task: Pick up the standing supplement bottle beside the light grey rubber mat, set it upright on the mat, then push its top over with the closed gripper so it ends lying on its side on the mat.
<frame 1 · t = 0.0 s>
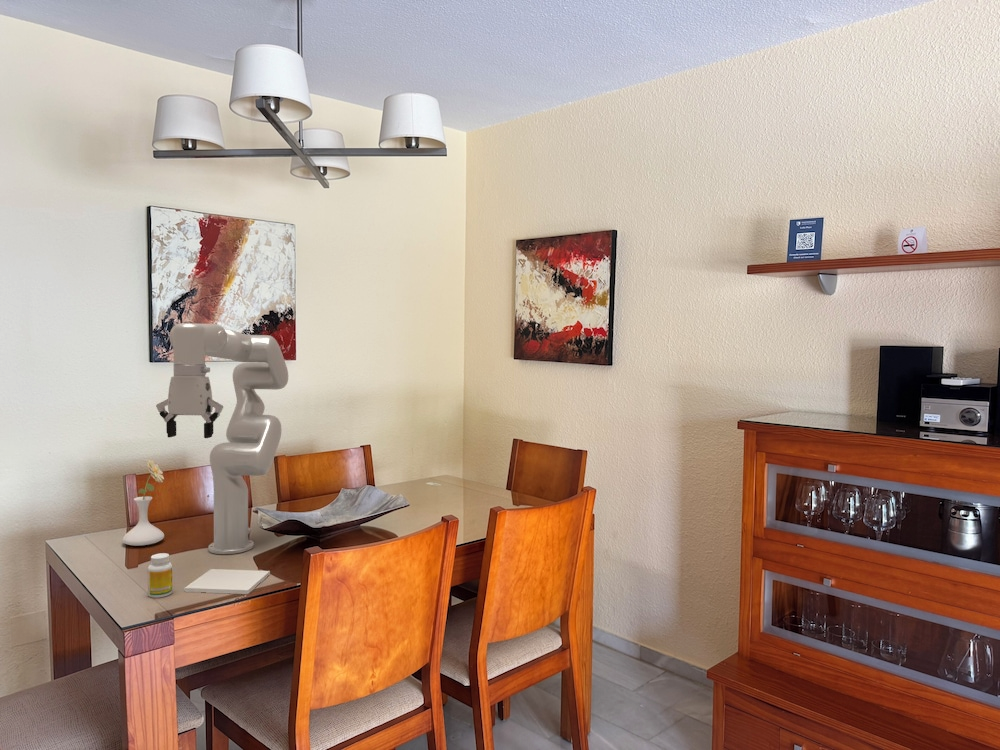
hand: (190, 437, 179), 37 cm above the table, tool pointing down, fingers open, 9 cm apart
flower in vase: (145, 543, 210), on the table
supplement bottle: (160, 595, 168), on the table
mat: (228, 583, 177), on the table
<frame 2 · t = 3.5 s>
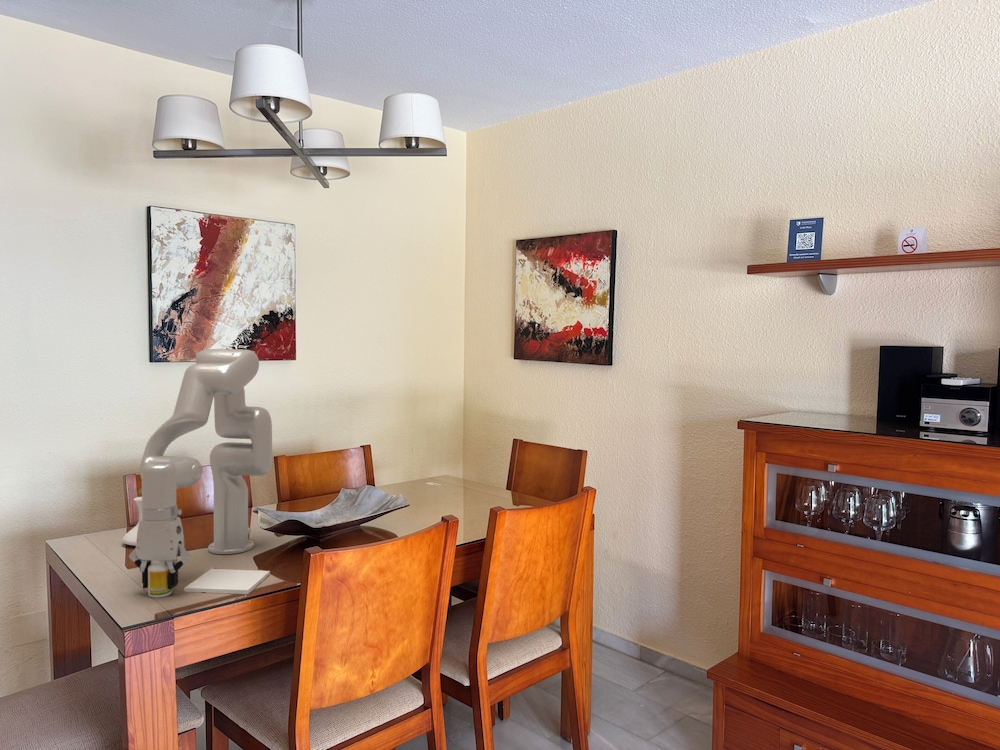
hand: (160, 586, 168), 2 cm above the table, tool pointing down, fingers closed on supplement bottle, 5 cm apart
supplement bottle: (160, 595, 168), on the table, touching gripper
everything else where it was.
when the fingers open (4 cm above the table, at t = 9.1 s): supplement bottle drops 1 cm, resting on mat.
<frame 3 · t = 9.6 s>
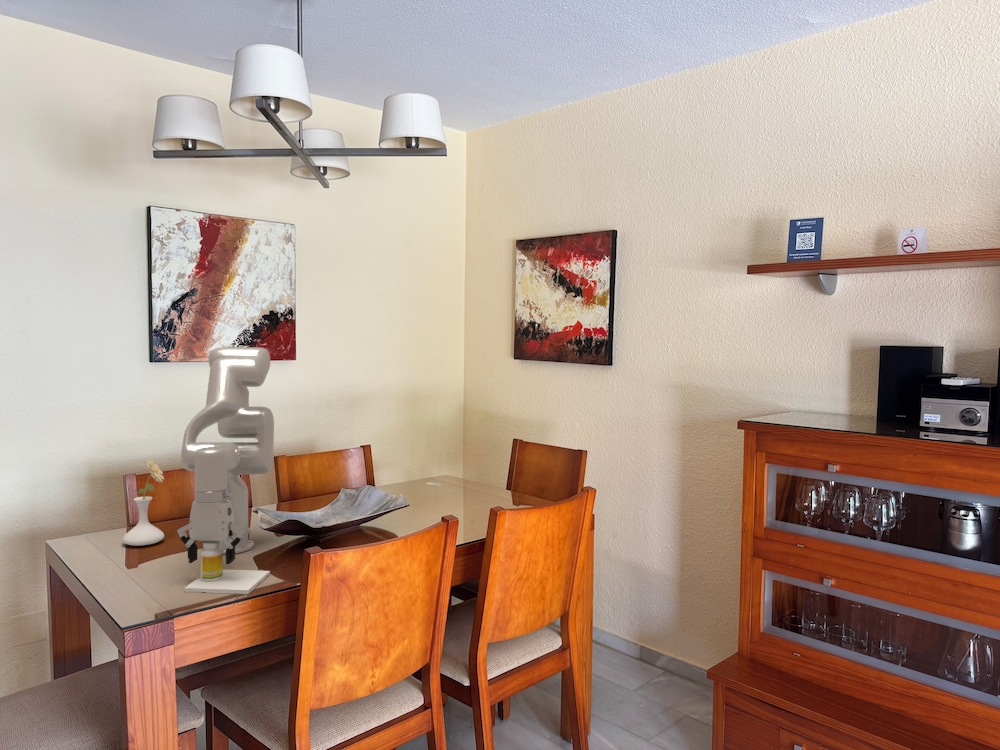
hand: (211, 562, 176), 5 cm above the table, tool pointing down, fingers open, 9 cm apart
supplement bottle: (211, 579, 177), point 1 cm above the table, touching mat
everything else where it was.
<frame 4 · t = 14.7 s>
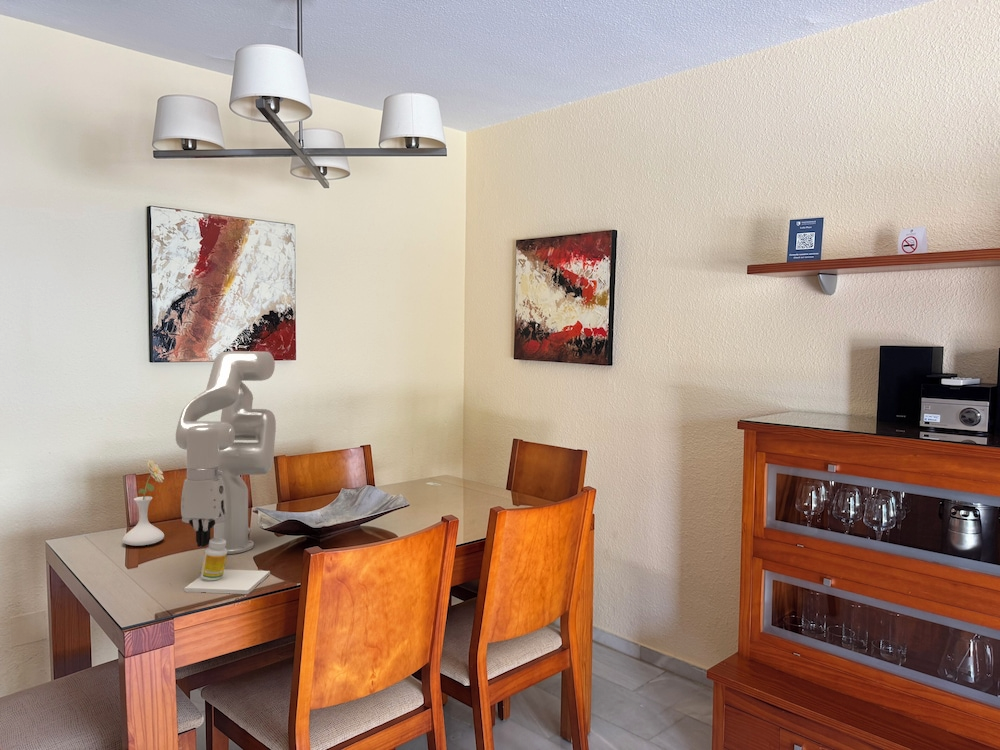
hand: (203, 545, 176), 10 cm above the table, tool pointing down, fingers closed
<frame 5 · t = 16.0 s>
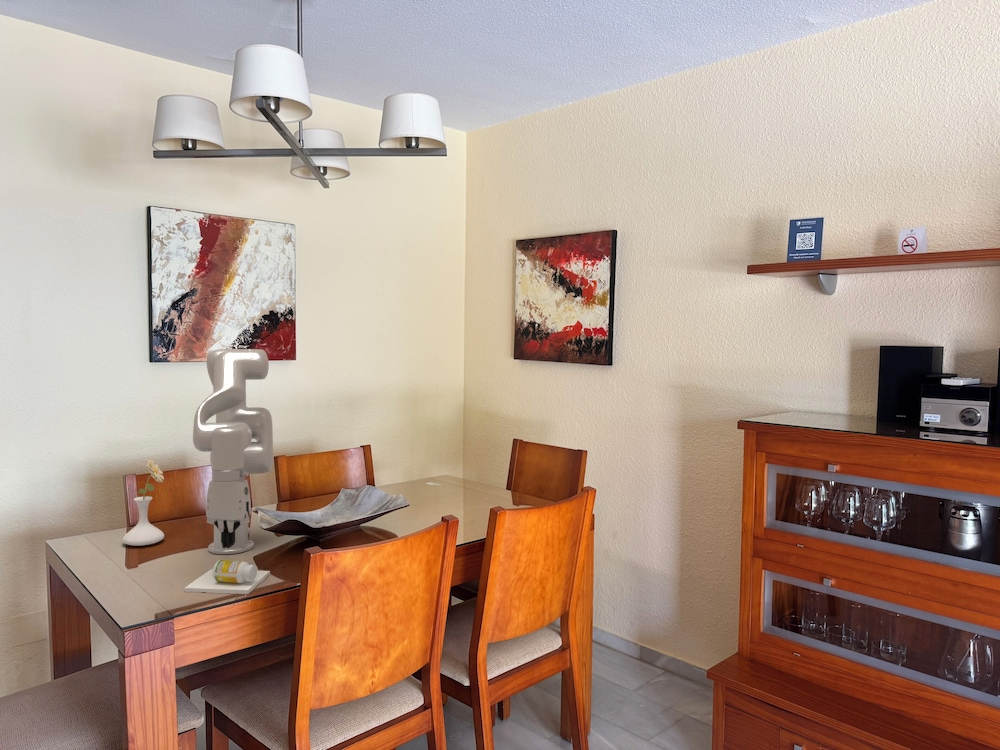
hand: (228, 546, 176), 10 cm above the table, tool pointing down, fingers closed
supplement bottle: (217, 570, 175), point 4 cm above the table, touching mat
everything else where it was.
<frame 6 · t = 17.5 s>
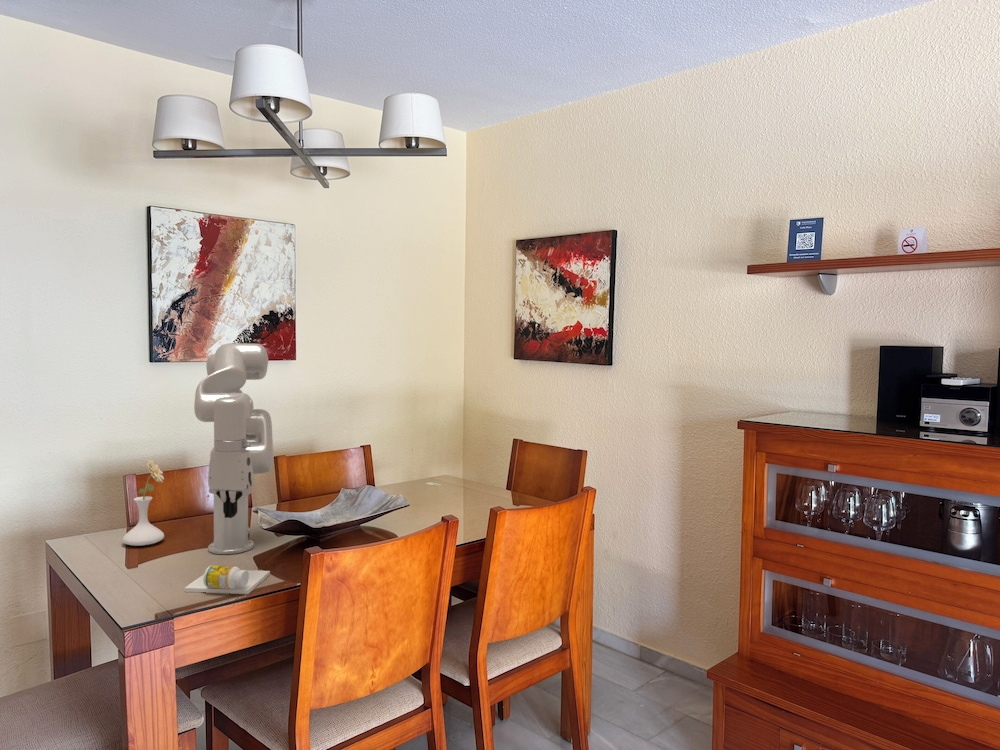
hand: (230, 516, 176), 17 cm above the table, tool pointing down, fingers closed
supplement bottle: (208, 576, 171), point 4 cm above the table, touching mat
everything else where it was.
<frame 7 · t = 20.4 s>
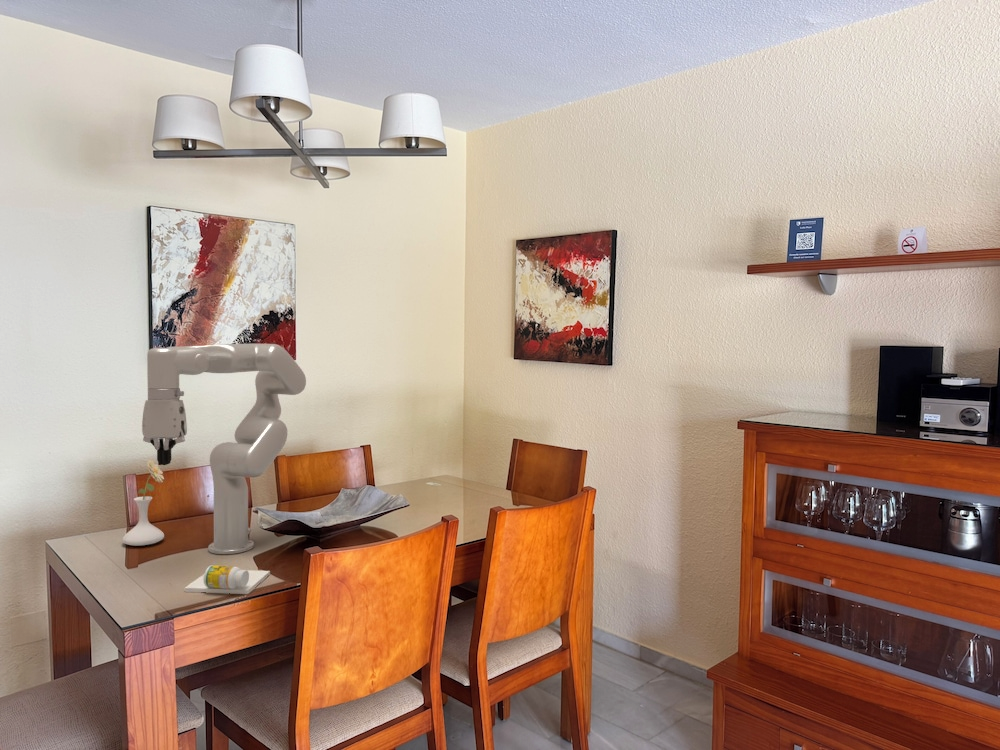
hand: (164, 464, 182), 29 cm above the table, tool pointing down, fingers closed
nothing on the table moved.
at the end: supplement bottle tilted 90°; supplement bottle 6.1 cm from the mat (horizontally); the gripper is holding nothing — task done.
